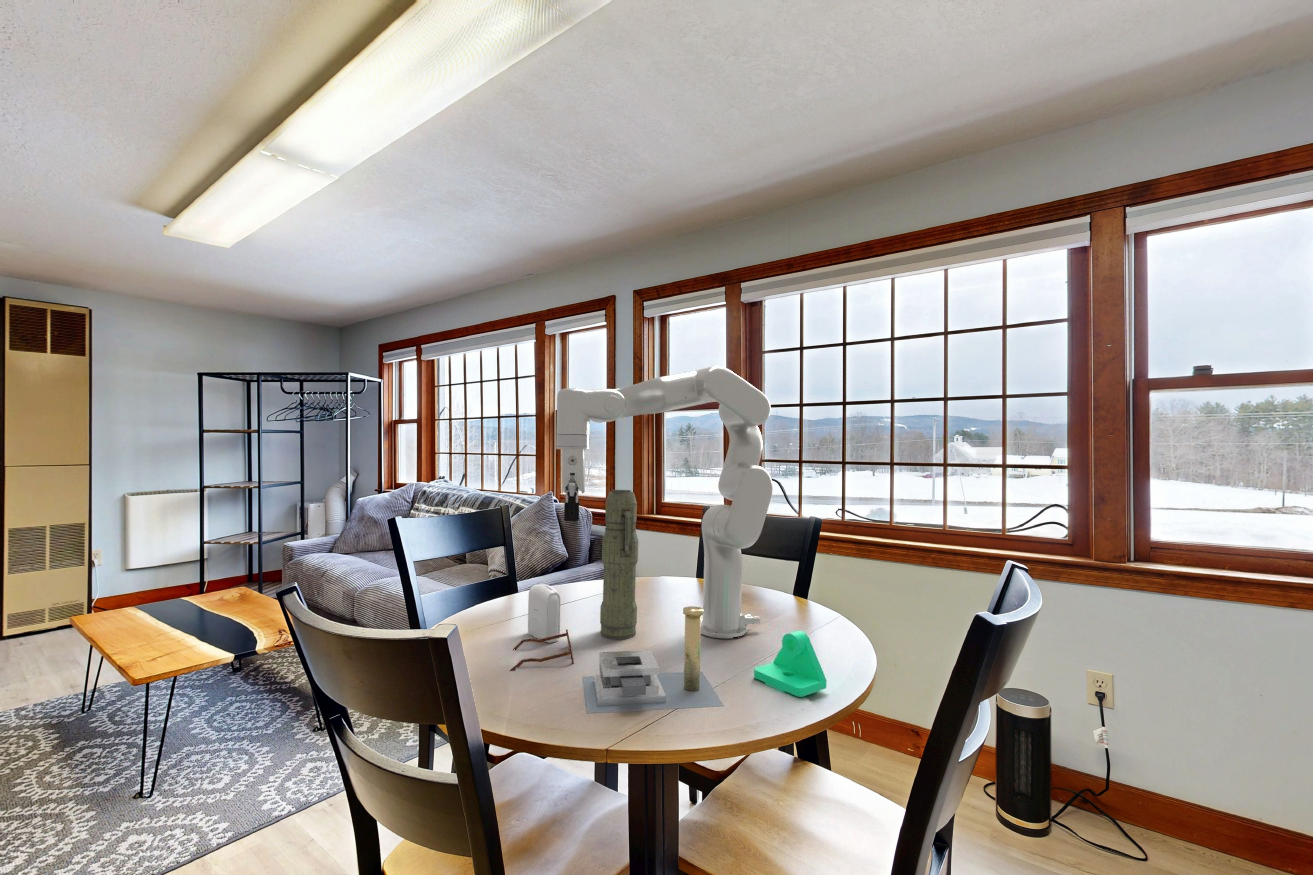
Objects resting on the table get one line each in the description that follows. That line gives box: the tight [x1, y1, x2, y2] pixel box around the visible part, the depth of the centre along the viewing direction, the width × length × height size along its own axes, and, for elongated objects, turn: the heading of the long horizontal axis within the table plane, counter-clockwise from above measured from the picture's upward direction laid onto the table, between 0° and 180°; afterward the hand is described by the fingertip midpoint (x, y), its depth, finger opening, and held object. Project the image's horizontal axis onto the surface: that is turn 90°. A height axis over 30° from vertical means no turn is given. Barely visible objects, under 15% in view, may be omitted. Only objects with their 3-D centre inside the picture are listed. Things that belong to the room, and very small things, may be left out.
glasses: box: [509, 629, 575, 672], centre depth 126 cm, size 13×13×5 cm
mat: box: [582, 670, 725, 714], centre depth 109 cm, size 24×16×1 cm, turn 100°
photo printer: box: [527, 583, 561, 644], centre depth 140 cm, size 10×4×12 cm, turn 39°
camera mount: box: [753, 630, 827, 698], centre depth 114 cm, size 12×8×10 cm, turn 37°
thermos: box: [599, 489, 639, 640], centre depth 144 cm, size 9×12×35 cm
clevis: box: [593, 649, 666, 706], centre depth 107 cm, size 12×14×6 cm
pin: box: [682, 605, 703, 692], centre depth 110 cm, size 4×4×15 cm
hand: (571, 518), depth 133 cm, fingers open, 9 cm apart
